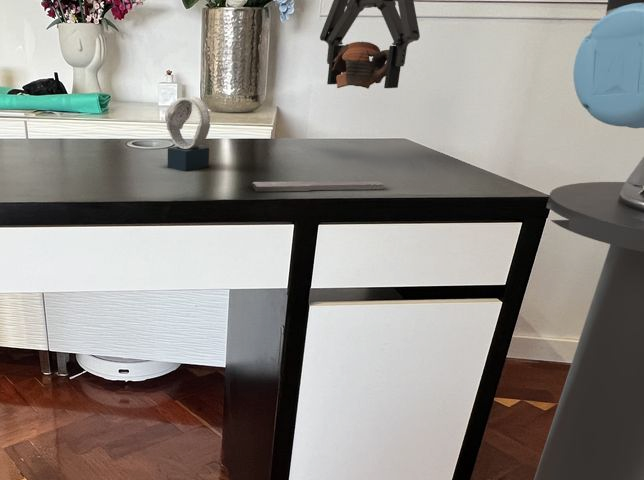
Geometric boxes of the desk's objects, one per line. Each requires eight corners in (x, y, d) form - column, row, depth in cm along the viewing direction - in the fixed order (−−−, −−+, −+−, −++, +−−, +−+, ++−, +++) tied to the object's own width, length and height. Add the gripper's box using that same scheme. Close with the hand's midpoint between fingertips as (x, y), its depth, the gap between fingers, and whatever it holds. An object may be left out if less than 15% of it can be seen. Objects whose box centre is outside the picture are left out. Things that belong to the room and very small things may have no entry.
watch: (182, 161, 112) (183, 94, 107) (216, 168, 106) (218, 98, 102) (159, 165, 108) (158, 96, 103) (192, 172, 103) (194, 100, 98)
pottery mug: (319, 90, 112) (324, 45, 113) (344, 112, 119) (349, 70, 120) (383, 73, 104) (389, 25, 104) (407, 98, 111) (411, 53, 111)
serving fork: (377, 186, 95) (378, 180, 95) (384, 190, 92) (385, 184, 92) (252, 187, 94) (252, 181, 93) (256, 191, 91) (256, 186, 91)
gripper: (307, -52, 110) (296, 83, 119) (429, -69, 92) (406, 90, 102) (336, -48, 114) (324, 81, 123) (459, -64, 96) (433, 89, 106)
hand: (361, 86), depth 113 cm, fingers closed on pottery mug, 12 cm apart
